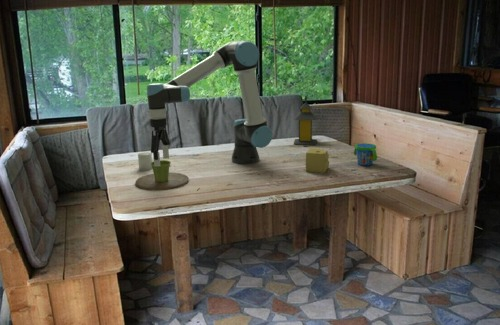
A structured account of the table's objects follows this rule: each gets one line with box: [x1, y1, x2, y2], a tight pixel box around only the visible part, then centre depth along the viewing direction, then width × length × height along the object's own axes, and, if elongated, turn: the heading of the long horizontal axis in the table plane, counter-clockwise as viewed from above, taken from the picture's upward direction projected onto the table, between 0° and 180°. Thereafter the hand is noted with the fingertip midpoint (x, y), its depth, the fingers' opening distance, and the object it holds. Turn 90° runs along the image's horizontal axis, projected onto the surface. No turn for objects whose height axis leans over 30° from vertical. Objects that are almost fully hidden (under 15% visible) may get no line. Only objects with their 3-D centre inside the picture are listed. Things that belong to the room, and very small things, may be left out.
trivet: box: [135, 172, 190, 191], centre depth 225 cm, size 25×25×2 cm
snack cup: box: [353, 143, 378, 166], centre depth 247 cm, size 16×10×10 cm
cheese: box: [305, 147, 330, 174], centre depth 239 cm, size 10×11×10 cm
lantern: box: [293, 94, 318, 146], centre depth 296 cm, size 14×14×30 cm
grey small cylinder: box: [137, 151, 153, 172], centre depth 247 cm, size 7×7×8 cm
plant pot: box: [150, 159, 172, 182], centre depth 222 cm, size 9×9×9 cm
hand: (162, 162), depth 223 cm, fingers open, 13 cm apart
